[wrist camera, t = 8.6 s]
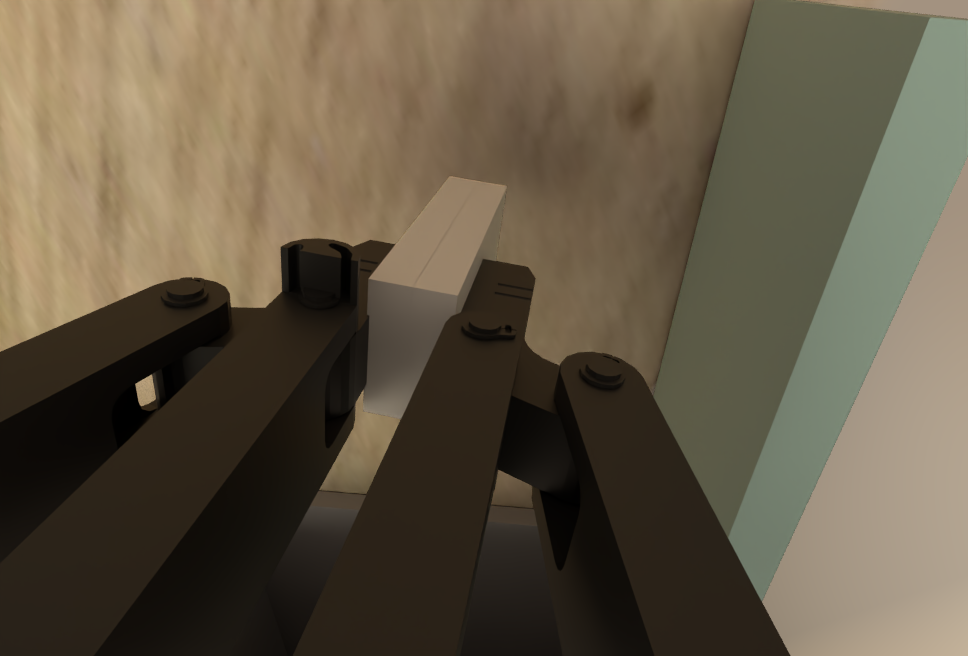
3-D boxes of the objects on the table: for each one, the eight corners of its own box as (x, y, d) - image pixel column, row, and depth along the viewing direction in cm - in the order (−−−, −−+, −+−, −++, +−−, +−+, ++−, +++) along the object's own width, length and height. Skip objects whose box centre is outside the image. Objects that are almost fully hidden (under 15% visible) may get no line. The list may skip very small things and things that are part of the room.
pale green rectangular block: (622, 517, 27) (634, 780, 18) (755, -4, 17) (929, 17, 8) (682, 527, 27) (723, 799, 18) (853, 5, 17) (1146, 35, 8)
